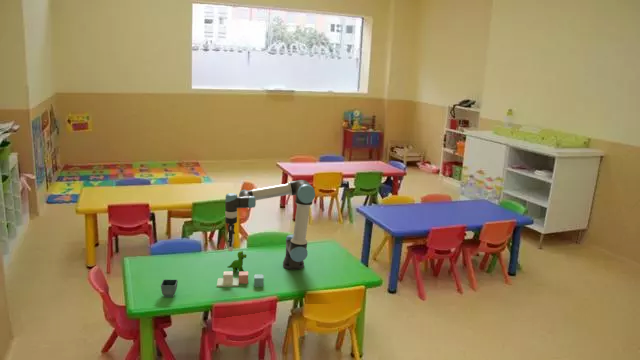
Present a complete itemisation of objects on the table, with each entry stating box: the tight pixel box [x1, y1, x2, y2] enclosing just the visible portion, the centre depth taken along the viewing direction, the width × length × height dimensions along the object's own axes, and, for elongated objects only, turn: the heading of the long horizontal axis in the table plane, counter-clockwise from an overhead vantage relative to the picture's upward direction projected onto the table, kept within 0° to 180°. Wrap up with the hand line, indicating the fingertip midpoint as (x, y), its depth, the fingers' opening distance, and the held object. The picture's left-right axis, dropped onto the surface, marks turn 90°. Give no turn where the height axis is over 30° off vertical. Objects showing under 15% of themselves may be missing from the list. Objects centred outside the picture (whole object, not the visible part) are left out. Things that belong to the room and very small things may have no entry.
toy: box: [227, 250, 248, 274], centre depth 369 cm, size 6×14×15 cm, turn 78°
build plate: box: [216, 270, 240, 288], centre depth 352 cm, size 14×11×7 cm
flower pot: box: [160, 279, 179, 298], centre depth 331 cm, size 9×9×9 cm
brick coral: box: [238, 270, 249, 285], centre depth 355 cm, size 6×6×6 cm
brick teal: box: [253, 273, 265, 288], centre depth 351 cm, size 6×6×6 cm
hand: (231, 247), depth 356 cm, fingers open, 13 cm apart
